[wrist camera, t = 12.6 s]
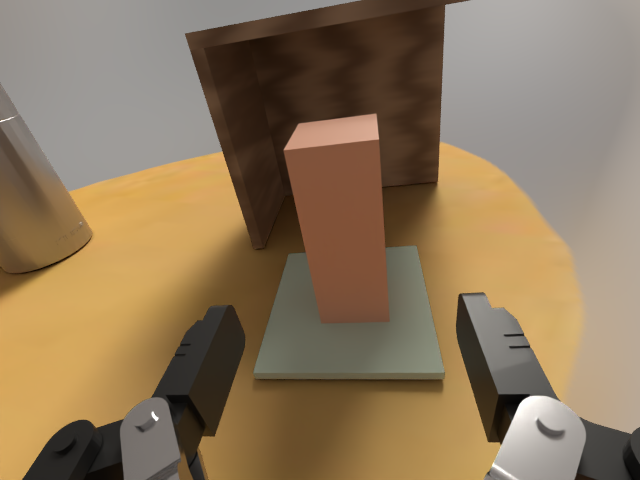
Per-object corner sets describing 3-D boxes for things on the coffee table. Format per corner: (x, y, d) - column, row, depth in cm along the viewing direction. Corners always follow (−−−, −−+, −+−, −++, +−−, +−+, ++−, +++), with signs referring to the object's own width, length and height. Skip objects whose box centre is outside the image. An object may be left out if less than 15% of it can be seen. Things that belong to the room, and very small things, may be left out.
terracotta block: (321, 323, 23) (283, 150, 16) (327, 279, 26) (298, 123, 20) (389, 322, 22) (379, 139, 15) (386, 276, 26) (376, 113, 19)
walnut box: (253, 248, 33) (184, 33, 23) (278, 192, 43) (238, 25, 33) (460, 234, 30) (483, -23, 20) (436, 177, 39) (443, -14, 30)
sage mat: (255, 378, 21) (252, 372, 20) (290, 258, 30) (288, 253, 30) (444, 379, 19) (444, 372, 18) (416, 251, 29) (416, 245, 28)
